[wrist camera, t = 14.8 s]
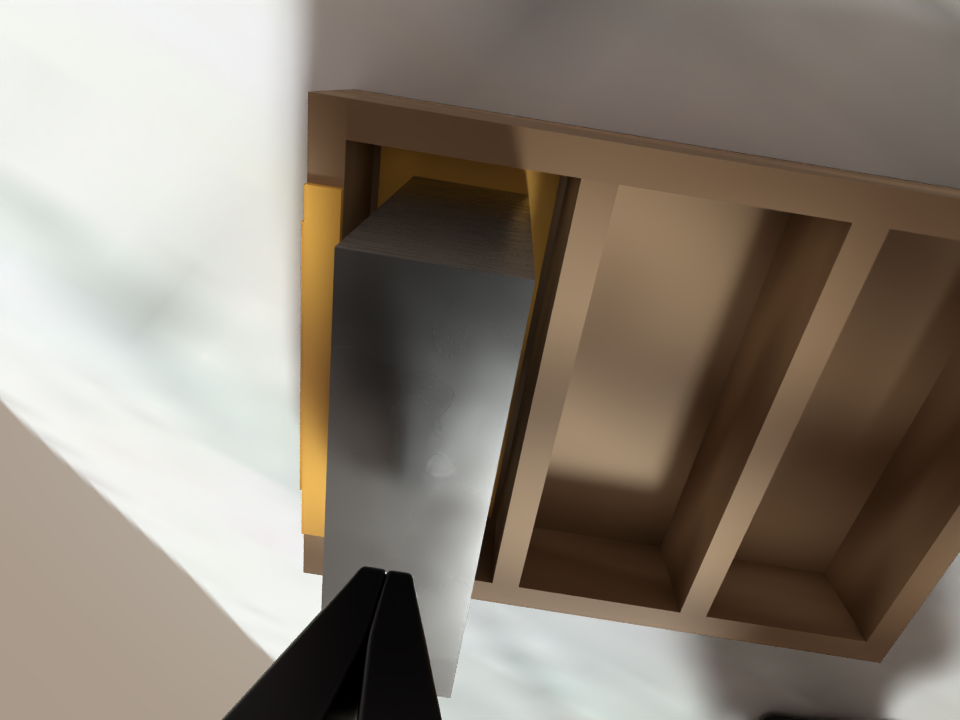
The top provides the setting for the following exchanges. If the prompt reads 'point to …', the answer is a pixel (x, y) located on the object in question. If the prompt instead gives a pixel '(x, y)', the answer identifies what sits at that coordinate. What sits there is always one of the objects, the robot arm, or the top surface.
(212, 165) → the top surface
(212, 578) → the top surface
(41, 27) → the top surface
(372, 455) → the block
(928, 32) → the top surface
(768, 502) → the rack
